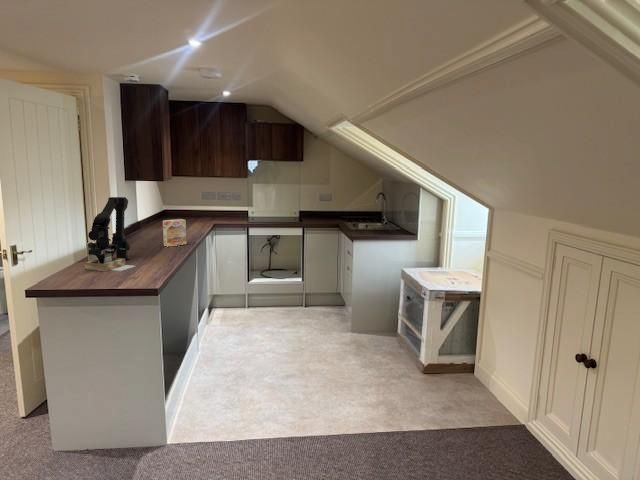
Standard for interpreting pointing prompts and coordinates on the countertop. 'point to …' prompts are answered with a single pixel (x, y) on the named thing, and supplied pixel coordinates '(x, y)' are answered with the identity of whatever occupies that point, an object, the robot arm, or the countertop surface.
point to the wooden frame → (106, 266)
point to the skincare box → (91, 257)
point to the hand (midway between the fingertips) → (105, 263)
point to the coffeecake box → (174, 232)
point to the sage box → (107, 257)
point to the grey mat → (123, 268)
